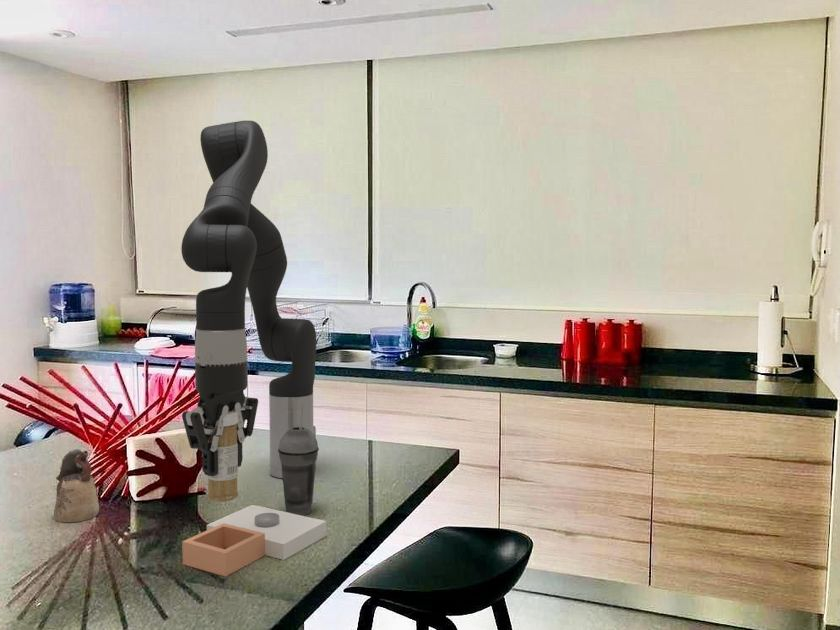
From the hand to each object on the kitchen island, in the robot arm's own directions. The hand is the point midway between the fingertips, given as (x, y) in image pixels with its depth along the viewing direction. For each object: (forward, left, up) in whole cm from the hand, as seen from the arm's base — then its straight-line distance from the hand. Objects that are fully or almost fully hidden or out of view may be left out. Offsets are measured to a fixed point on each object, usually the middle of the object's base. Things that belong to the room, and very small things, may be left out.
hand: (222, 470), depth 108 cm
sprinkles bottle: (0, 0, -4) cm, 4 cm away
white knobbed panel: (-6, 0, -14) cm, 15 cm away
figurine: (-1, -36, -14) cm, 39 cm away
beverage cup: (-22, -3, -14) cm, 26 cm away
